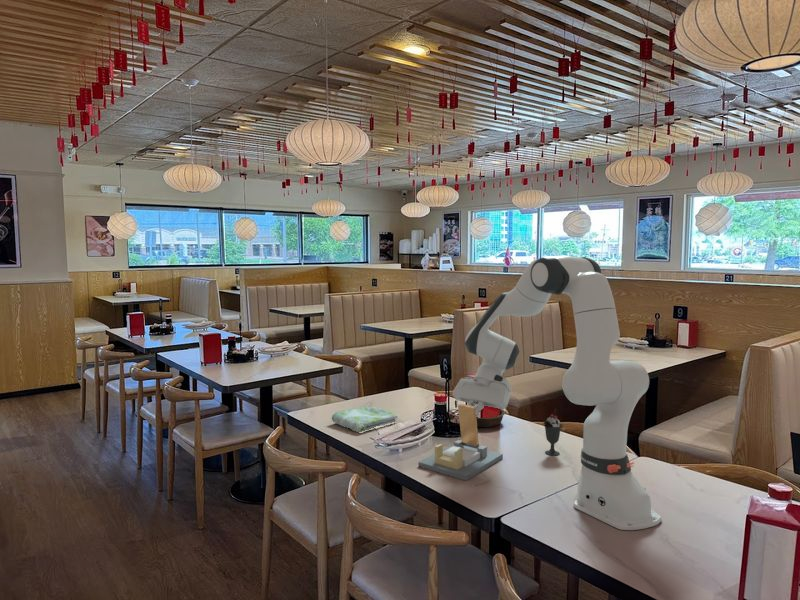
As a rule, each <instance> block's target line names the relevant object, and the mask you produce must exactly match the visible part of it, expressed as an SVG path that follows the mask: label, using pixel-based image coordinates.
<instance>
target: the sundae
mask: <svg viewBox="0 0 800 600" xmlns="http://www.w3.org/2000/svg"><path fill="white" fill-rule="evenodd" d="M556 411H557V409H556V408H555V409H554V412H553V413H552V414H550V416H549V417H547V419H546V420H545V421H543V423H542V425H543V426H544V430H545V437H546V441H547V442H548V443H549V444H550V448H549V449H548V450H545V452H544V453H545V455H548V456H549V457H550V456H552V457H556V456H557V457H558V456H560V454H561V453H560V452H559V451H557V450H556V449H555V445H556V443H558V442H559V439H560V435H561V429H562V428H563V427H564V425H563V424H562V423H561V421H560V420H559V419H558V416H557V412H556ZM554 414H555V415H554Z"/></svg>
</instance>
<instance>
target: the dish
mask: <svg viewBox="0 0 800 600" xmlns="http://www.w3.org/2000/svg"><path fill="white" fill-rule="evenodd" d="M505 414H506V413H505V409H500V414H499V416H496V417H490V418H478V417H476V419H477V428H491V427H495V426H498V425H500V424H501V423H502V421H503V418H504V415H505Z"/></svg>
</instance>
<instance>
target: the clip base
mask: <svg viewBox="0 0 800 600" xmlns="http://www.w3.org/2000/svg"><path fill="white" fill-rule="evenodd" d="M461 443H462V441H461V439H458V440H456V441H453V444H452V445H450V446H448V447H446V448H444V447H443V446H444V445H443V443H439V444H437V445H434V454H432V455H429V456H427V457H426V458H424V459H422V460H419V461H417V462H418V467H419V466H421V467H420V468H422V467H424V468H423V469H425V468H427V469H426V470H429V471H432V470H433V472H435V471H436V473H438V472H439V474H442V475H445V474H446V475H445V476H448V475H449V476H450V477H453V478H456V479H459V480H462V481H469V479H471V478H473V477H474V476H476V475H478V474H479V473H481V472H483V471H484V470H486V469H487V468H489V467H491V466H493V465H495V464H496V463H498V462H499V461H501V460H502V459H504V457H503V455H504V454H503V453H501V452H496V451H492V450H488V446H485V445H481V446H480V445H479V447H478V448H477V449H476V448H472V447H468V446H464V445H462V444H461Z"/></svg>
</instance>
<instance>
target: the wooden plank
mask: <svg viewBox="0 0 800 600" xmlns="http://www.w3.org/2000/svg"><path fill="white" fill-rule="evenodd" d="M457 407H458V409H457V410H458V418H459V419H458V420H459V427H460V428H459V429H460V440H461V441H462V443H461V444H462V445H464V446H468V447H472V448H476V449H477V448H478V447H480V444H479V443H480V442H479V430H478V427H477V419H476V409H475V407H474V406H469V404H468V405H467V404H464V403H459V404H458V405H457Z"/></svg>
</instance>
